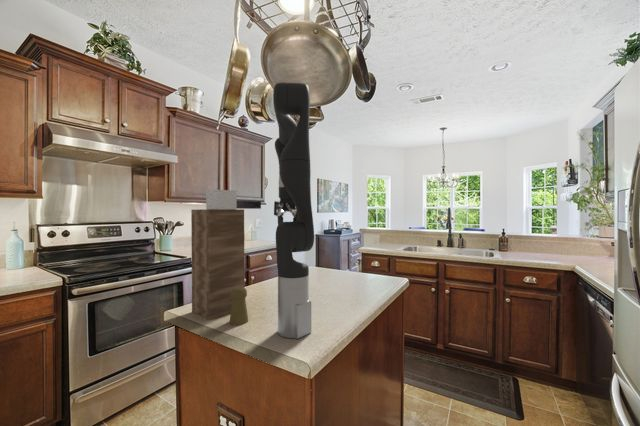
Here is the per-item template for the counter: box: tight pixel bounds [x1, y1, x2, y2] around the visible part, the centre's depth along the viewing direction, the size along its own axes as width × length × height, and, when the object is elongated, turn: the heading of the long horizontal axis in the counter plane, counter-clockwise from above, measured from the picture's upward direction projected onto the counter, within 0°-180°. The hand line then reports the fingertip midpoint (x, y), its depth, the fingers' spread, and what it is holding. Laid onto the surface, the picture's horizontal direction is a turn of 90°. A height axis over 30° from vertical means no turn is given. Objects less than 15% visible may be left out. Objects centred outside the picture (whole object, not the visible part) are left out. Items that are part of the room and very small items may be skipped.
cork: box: [229, 287, 249, 326], centre depth 97 cm, size 6×6×11 cm
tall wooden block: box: [190, 208, 245, 320], centre depth 108 cm, size 12×14×37 cm
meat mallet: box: [205, 189, 262, 210], centre depth 114 cm, size 7×22×7 cm, turn 144°
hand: (288, 226), depth 121 cm, fingers open, 8 cm apart
